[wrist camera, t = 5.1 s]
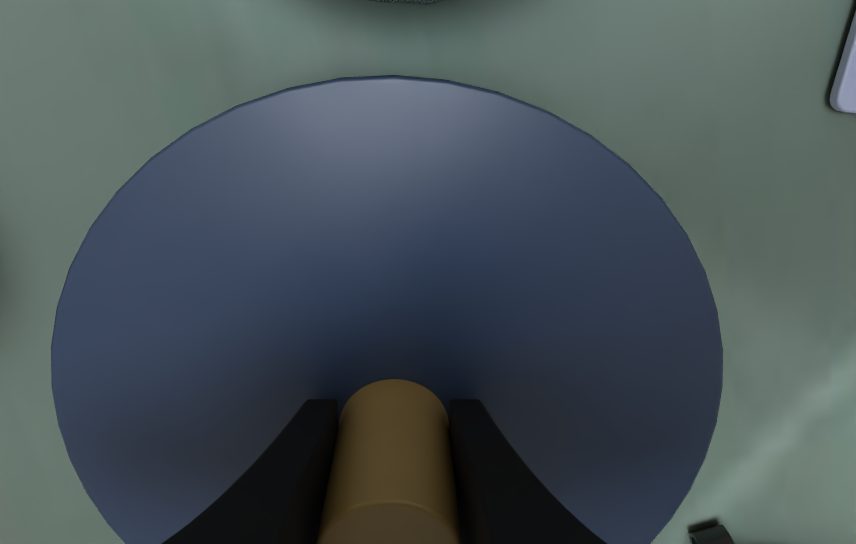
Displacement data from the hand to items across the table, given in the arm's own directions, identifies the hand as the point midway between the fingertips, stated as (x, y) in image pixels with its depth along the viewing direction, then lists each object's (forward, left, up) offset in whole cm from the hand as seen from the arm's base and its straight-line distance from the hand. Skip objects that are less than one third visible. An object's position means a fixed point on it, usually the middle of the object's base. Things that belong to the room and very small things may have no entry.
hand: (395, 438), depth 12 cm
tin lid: (0, 0, -1) cm, 1 cm away
